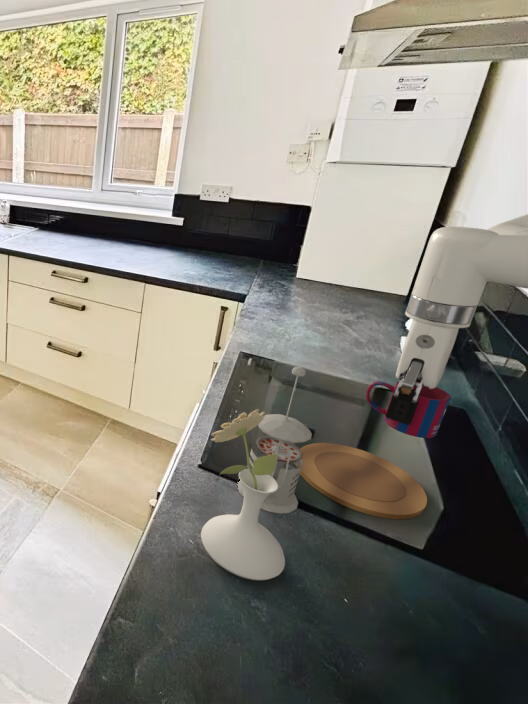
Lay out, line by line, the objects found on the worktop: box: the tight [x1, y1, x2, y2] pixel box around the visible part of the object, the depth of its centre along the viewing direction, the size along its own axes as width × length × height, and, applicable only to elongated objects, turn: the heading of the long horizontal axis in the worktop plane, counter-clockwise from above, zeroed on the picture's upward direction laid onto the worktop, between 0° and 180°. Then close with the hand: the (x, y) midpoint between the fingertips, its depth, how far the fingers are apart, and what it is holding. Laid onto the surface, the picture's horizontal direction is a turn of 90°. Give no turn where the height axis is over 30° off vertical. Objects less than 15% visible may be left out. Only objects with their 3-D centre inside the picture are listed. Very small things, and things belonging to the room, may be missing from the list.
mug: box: [365, 380, 452, 439], centre depth 75 cm, size 7×10×7 cm
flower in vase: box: [200, 408, 286, 581], centre depth 65 cm, size 13×11×25 cm
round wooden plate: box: [295, 442, 428, 520], centre depth 85 cm, size 20×20×1 cm
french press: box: [236, 366, 313, 514], centre depth 76 cm, size 10×12×25 cm
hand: (403, 411), depth 75 cm, fingers closed on mug, 6 cm apart
